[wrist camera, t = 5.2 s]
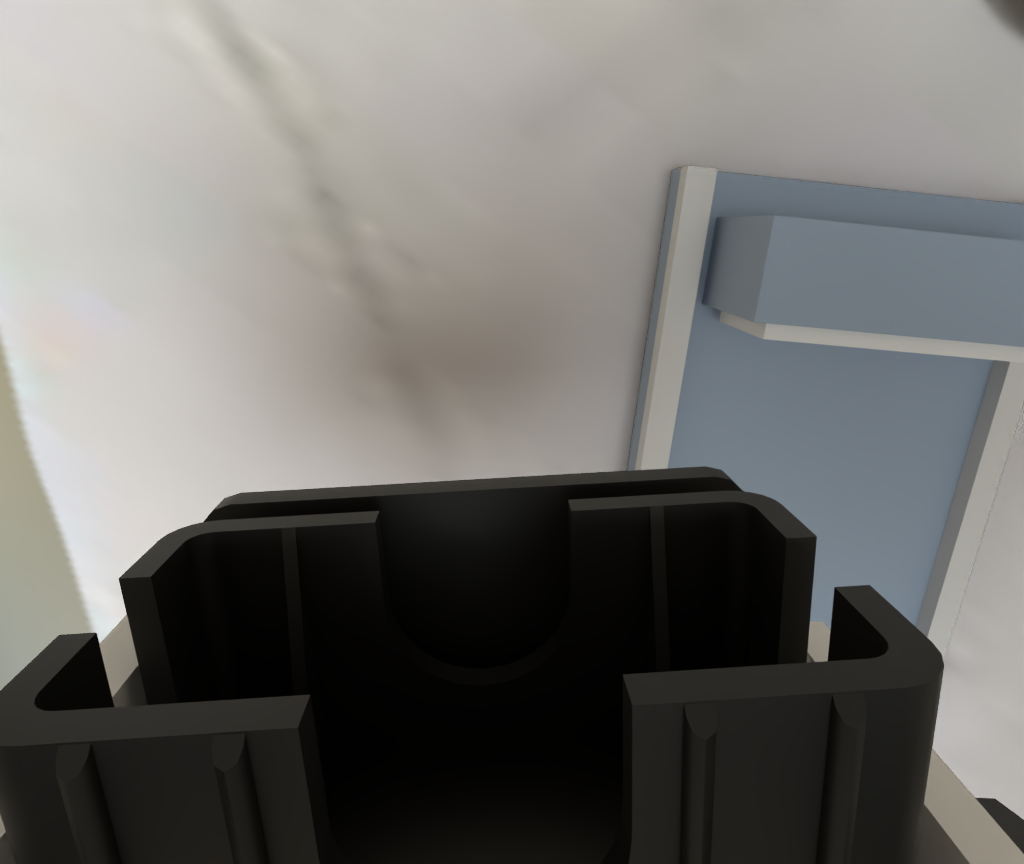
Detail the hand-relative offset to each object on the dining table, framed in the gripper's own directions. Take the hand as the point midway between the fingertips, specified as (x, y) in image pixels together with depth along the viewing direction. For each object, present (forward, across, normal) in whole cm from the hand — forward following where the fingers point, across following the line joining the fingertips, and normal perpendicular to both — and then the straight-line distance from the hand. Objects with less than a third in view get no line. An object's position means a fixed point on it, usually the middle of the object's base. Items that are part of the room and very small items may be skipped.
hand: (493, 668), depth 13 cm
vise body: (+15, -13, +3) cm, 20 cm away
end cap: (+1, 0, 0) cm, 1 cm away
